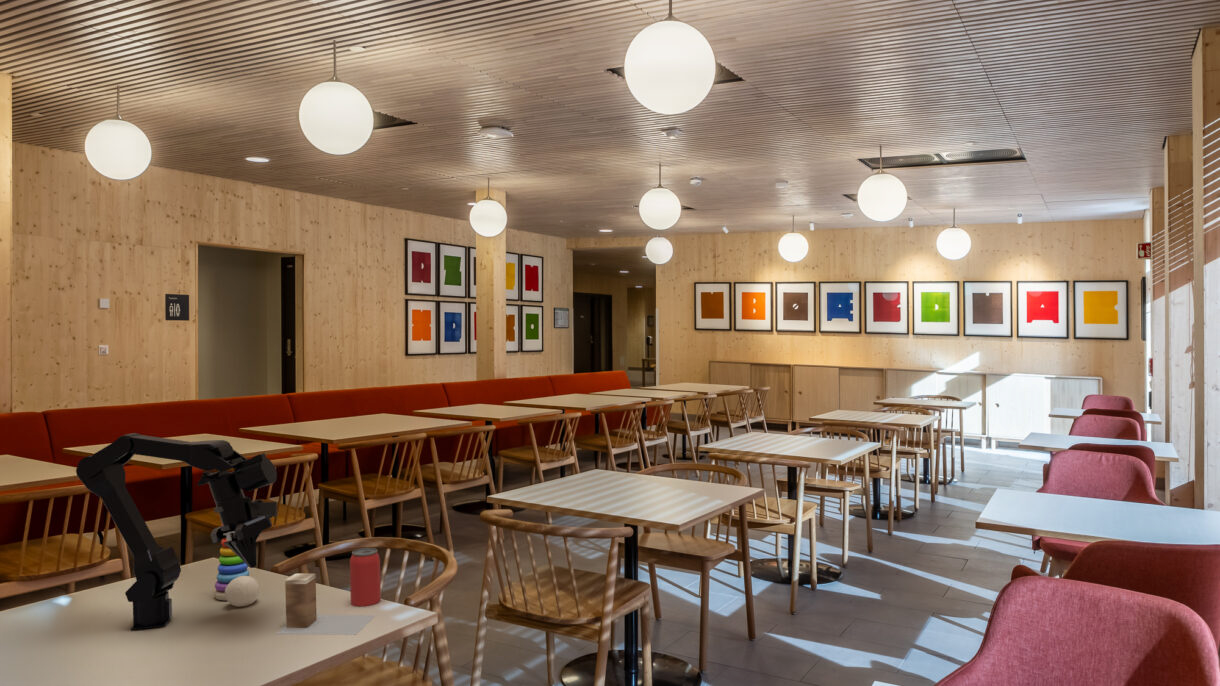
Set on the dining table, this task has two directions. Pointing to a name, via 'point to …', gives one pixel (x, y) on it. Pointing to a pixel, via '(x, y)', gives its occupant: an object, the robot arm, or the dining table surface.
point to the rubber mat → (332, 625)
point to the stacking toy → (228, 570)
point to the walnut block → (300, 600)
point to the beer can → (365, 577)
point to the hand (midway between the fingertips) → (253, 567)
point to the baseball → (242, 591)
